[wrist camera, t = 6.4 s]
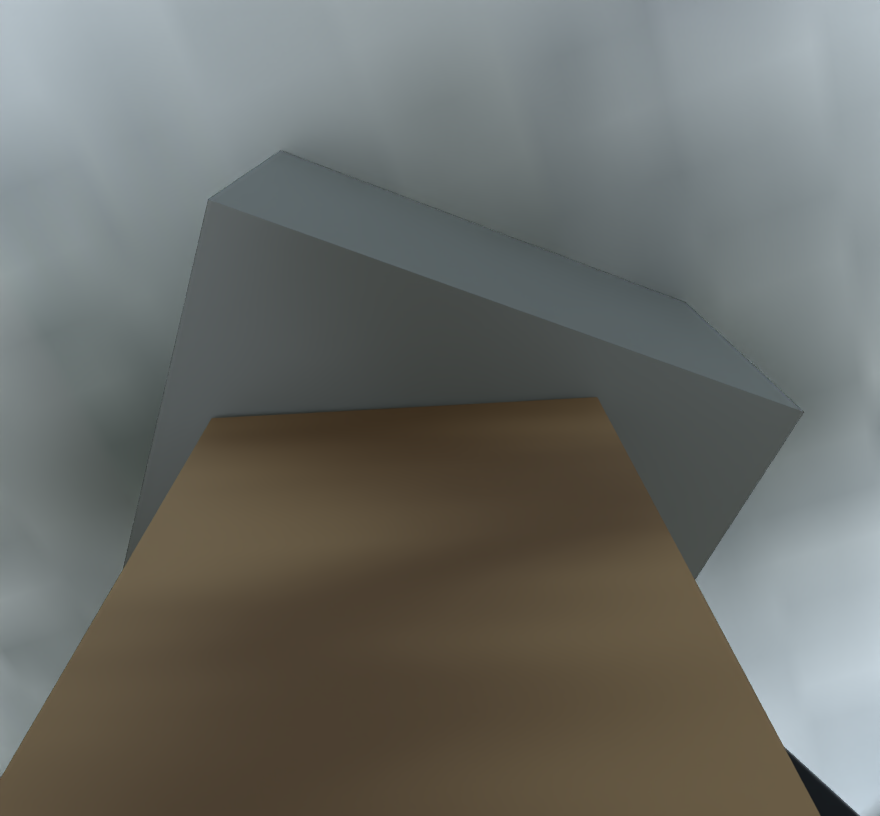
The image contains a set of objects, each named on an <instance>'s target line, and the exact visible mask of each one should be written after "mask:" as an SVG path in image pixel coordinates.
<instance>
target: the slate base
mask: <svg viewBox="0 0 880 816" xmlns="http://www.w3.org/2000/svg"><path fill="white" fill-rule="evenodd" d="M590 397H597V398H598V399H599V401H600V403H601V405H602V407H603V409H604V411H605V413H606V414H607V416H608V418H609V420H610V422H611V424H612V426H613V428H614V429H615V431H616V433H617V435H618V437H619V439H620V441H621V443H622V444H623V446H624V448H625V450H626V452H627V454H628V456H629V458H630V459H631V461H632V463H633V465H634V467H635V469H636V471H637V473H638V474H639V476H640V478H641V480H642V482H643V484H644V486H645V488H646V489H647V491H648V493H649V495H650V497H651V499H652V501H653V503H654V504H655V506H656V508H657V510H658V512H659V514H660V516H661V518H662V519H663V521H664V523H665V525H666V527H667V529H668V531H669V533H670V534H671V536H672V538H673V540H674V542H675V544H676V546H677V548H678V549H679V551H680V553H681V555H682V557H683V559H684V561H685V563H686V564H687V566H688V568H689V570H690V572H691V574H692V576H693V578H694V579H696V577H697V576H698V574H699V573H700V571H701V570H702V568H703V567H704V565H705V564H706V562H707V560H708V559H709V557H710V556H711V554H712V553H713V551H714V550H715V548H716V547H717V545H718V544H719V542H720V540H721V539H722V537H723V536H724V534H725V533H726V531H727V530H728V528H729V527H730V525H731V524H732V522H733V520H734V519H735V517H736V516H737V514H738V513H739V511H740V510H741V508H742V507H743V505H744V504H745V502H746V500H747V499H748V497H749V496H750V494H751V493H752V491H753V490H754V488H755V487H756V485H757V484H758V482H759V481H760V479H761V477H762V476H763V474H764V473H765V471H766V470H767V468H768V467H769V465H770V464H771V462H772V461H773V459H774V457H775V456H776V454H777V453H778V451H779V450H780V448H781V447H782V445H783V444H784V442H785V441H786V439H787V437H788V436H789V434H790V433H791V431H792V430H793V428H794V427H795V425H796V424H797V422H798V421H799V419H800V417H801V416H802V414H803V413H804V412H803V411H802V410H801V409H800V408H799V407H798V406H797V405H796V404H795V403H794V402H793V401H792V400H791V399H789V398H788V397H787V396H786V395H785V394H784V393H783V392H782V391H781V390H780V389H779V388H778V387H776V386H775V385H774V384H773V383H772V382H771V381H770V380H769V379H768V378H767V377H766V376H765V375H763V374H762V373H761V372H760V371H759V370H758V369H757V368H756V367H755V366H754V365H753V364H752V363H750V362H749V361H748V360H747V359H746V358H745V357H744V356H743V355H742V354H741V353H740V352H739V351H737V350H736V349H735V348H734V347H733V346H732V345H731V344H730V343H729V342H728V341H727V340H726V339H725V338H723V337H722V336H721V335H720V334H719V333H718V332H717V331H716V330H715V329H714V328H713V327H712V326H710V325H709V324H708V323H707V322H706V321H705V320H704V319H703V318H702V317H701V316H700V315H699V314H697V313H696V312H695V311H694V310H693V309H692V308H691V307H690V306H689V305H688V304H687V303H686V302H683V301H680V300H678V299H675V298H672V297H670V296H667V295H664V294H662V293H659V292H656V291H654V290H651V289H648V288H646V287H643V286H640V285H638V284H635V283H632V282H630V281H627V280H624V279H622V278H619V277H616V276H614V275H611V274H608V273H606V272H603V271H600V270H598V269H595V268H593V267H590V266H587V265H585V264H582V263H579V262H577V261H574V260H571V259H569V258H566V257H563V256H561V255H558V254H555V253H553V252H550V251H547V250H545V249H542V248H539V247H537V246H534V245H531V244H529V243H526V242H523V241H521V240H518V239H515V238H513V237H510V236H507V235H505V234H502V233H499V232H497V231H494V230H491V229H489V228H486V227H483V226H481V225H478V224H475V223H473V222H470V221H467V220H465V219H462V218H459V217H457V216H454V215H451V214H449V213H446V212H443V211H441V210H438V209H436V208H433V207H430V206H428V205H425V204H422V203H420V202H417V201H414V200H412V199H409V198H406V197H404V196H401V195H398V194H396V193H393V192H390V191H388V190H385V189H382V188H380V187H377V186H374V185H372V184H369V183H366V182H364V181H361V180H358V179H356V178H353V177H350V176H348V175H345V174H342V173H340V172H337V171H334V170H332V169H329V168H326V167H324V166H321V165H318V164H316V163H313V162H310V161H308V160H305V159H302V158H300V157H297V156H294V155H292V154H289V153H287V152H284V151H281V150H280V151H279V152H278V153H276V154H275V155H273V156H272V157H270V158H269V159H267V160H266V161H264V162H263V163H261V164H260V165H258V166H257V167H255V168H254V169H252V170H251V171H249V172H248V173H246V174H245V175H243V176H242V177H241V178H239V179H238V180H236V181H235V182H233V183H232V184H230V185H229V186H227V187H226V188H224V189H223V190H221V191H220V192H218V193H217V194H215V195H214V196H212V197H211V198H209V199H208V202H207V207H206V211H205V215H204V220H203V224H202V228H201V233H200V237H199V241H198V246H197V250H196V254H195V259H194V263H193V267H192V272H191V276H190V281H189V285H188V289H187V294H186V298H185V302H184V307H183V311H182V315H181V320H180V324H179V328H178V333H177V337H176V341H175V346H174V350H173V354H172V359H171V363H170V367H169V372H168V376H167V380H166V385H165V389H164V393H163V398H162V402H161V406H160V411H159V415H158V419H157V424H156V428H155V432H154V437H153V441H152V445H151V450H150V454H149V458H148V463H147V467H146V471H145V476H144V480H143V484H142V489H141V493H140V497H139V502H138V506H137V510H136V515H135V519H134V523H133V528H132V532H131V536H130V541H129V545H128V549H127V554H126V558H125V562H124V567H125V565H126V563H127V562H128V560H129V558H130V557H131V555H132V553H133V551H134V550H135V548H136V546H137V545H138V543H139V541H140V540H141V538H142V536H143V534H144V533H145V531H146V529H147V528H148V526H149V524H150V523H151V521H152V519H153V517H154V516H155V514H156V512H157V511H158V509H159V507H160V505H161V504H162V502H163V500H164V499H165V497H166V495H167V494H168V492H169V490H170V488H171V487H172V485H173V483H174V482H175V480H176V478H177V476H178V475H179V473H180V471H181V470H182V468H183V466H184V465H185V463H186V461H187V459H188V458H189V456H190V454H191V453H192V451H193V449H194V447H195V446H196V444H197V442H198V441H199V439H200V437H201V436H202V434H203V432H204V430H205V429H206V427H207V425H208V424H209V422H210V420H211V418H225V417H243V416H262V415H280V414H298V413H316V412H335V411H353V410H371V409H389V408H408V407H426V406H444V405H462V404H481V403H499V402H517V401H535V400H554V399H572V398H590ZM124 567H123V569H124Z"/></svg>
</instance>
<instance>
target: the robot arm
mask: <svg viewBox="0 0 880 816" xmlns="http://www.w3.org/2000/svg"><path fill="white" fill-rule="evenodd" d="M784 748H785V747H784ZM785 750H786V752H787V754H788V756H789V757H790V759H791V761H792V763H793V765H794V767H795V769H796V771H797V772H798V774H799V776H800V778H801V780H802V782H803V784H804V786H805V787H806V789H807V791H808V793H809V795H810V797H811V799H812V801H813V802H814V804H815V806H816V808H817V810H818V812H819V814H820V816H860V815H859V814H857V813H856V812H855V811H854V810H853V809H852V808H851V807H850V806H849V805H848V804H846V803H845V802H844V801H843V800H842V799H841V798H840V797H839V796H838V795H837V794H835V793H834V792H833V791H832V790H831V789H830V788H829V787H828V786H827V785H826V784H824V783H823V782H822V781H821V780H820V779H819V778H818V777H817V776H816V775H815V774H813V773H812V772H811V771H810V770H809V769H808V768H807V767H806V766H805V765H804V764H803V763H801V762H800V761H799V760H798V759H797V758H796V757H795V756H794V755H793V754H792V753H790V752H789V751H788V750H787V749H786V748H785Z"/></svg>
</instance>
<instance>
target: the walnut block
mask: <svg viewBox="0 0 880 816" xmlns="http://www.w3.org/2000/svg"><path fill="white" fill-rule="evenodd" d="M0 816H820V814H819V812H818V810H817V808H816V806H815V804H814V802H813V801H812V799H811V797H810V795H809V793H808V791H807V789H806V787H805V786H804V784H803V782H802V780H801V778H800V776H799V774H798V772H797V771H796V769H795V767H794V765H793V763H792V761H791V759H790V757H789V756H788V754H787V752H786V750H785V748H784V746H783V744H782V742H781V741H780V739H779V737H778V735H777V733H776V731H775V729H774V727H773V726H772V724H771V722H770V720H769V718H768V716H767V714H766V712H765V711H764V709H763V707H762V705H761V703H760V701H759V699H758V697H757V696H756V694H755V692H754V690H753V688H752V686H751V684H750V682H749V681H748V679H747V677H746V675H745V673H744V671H743V669H742V667H741V666H740V664H739V662H738V660H737V658H736V656H735V654H734V653H733V651H732V649H731V647H730V645H729V643H728V641H727V639H726V638H725V636H724V634H723V632H722V630H721V628H720V626H719V624H718V623H717V621H716V619H715V617H714V615H713V613H712V611H711V609H710V608H709V606H708V604H707V602H706V600H705V598H704V596H703V594H702V593H701V591H700V589H699V587H698V585H697V583H696V581H695V579H694V578H693V576H692V574H691V572H690V570H689V568H688V566H687V564H686V563H685V561H684V559H683V557H682V555H681V553H680V551H679V549H678V548H677V546H676V544H675V542H674V540H673V538H672V536H671V534H670V533H669V531H668V529H667V527H666V525H665V523H664V521H663V519H662V518H661V516H660V514H659V512H658V510H657V508H656V506H655V504H654V503H653V501H652V499H651V497H650V495H649V493H648V491H647V489H646V488H645V486H644V484H643V482H642V480H641V478H640V476H639V474H638V473H637V471H636V469H635V467H634V465H633V463H632V461H631V459H630V458H629V456H628V454H627V452H626V450H625V448H624V446H623V444H622V443H621V441H620V439H619V437H618V435H617V433H616V431H615V429H614V428H613V426H612V424H611V422H610V420H609V418H608V416H607V414H606V413H605V411H604V409H603V407H602V405H601V403H600V401H599V399H598V398H597V397H590V398H572V399H554V400H535V401H517V402H499V403H481V404H462V405H444V406H426V407H408V408H389V409H371V410H353V411H335V412H316V413H298V414H280V415H262V416H243V417H225V418H211V420H210V422H209V424H208V425H207V427H206V429H205V430H204V432H203V434H202V436H201V437H200V439H199V441H198V442H197V444H196V446H195V447H194V449H193V451H192V453H191V454H190V456H189V458H188V459H187V461H186V463H185V465H184V466H183V468H182V470H181V471H180V473H179V475H178V476H177V478H176V480H175V482H174V483H173V485H172V487H171V488H170V490H169V492H168V494H167V495H166V497H165V499H164V500H163V502H162V504H161V505H160V507H159V509H158V511H157V512H156V514H155V516H154V517H153V519H152V521H151V523H150V524H149V526H148V528H147V529H146V531H145V533H144V534H143V536H142V538H141V540H140V541H139V543H138V545H137V546H136V548H135V550H134V551H133V553H132V555H131V557H130V558H129V560H128V562H127V563H126V565H125V567H124V569H123V570H122V572H121V574H120V575H119V577H118V579H117V580H116V582H115V584H114V586H113V587H112V589H111V591H110V592H109V594H108V596H107V598H106V599H105V601H104V603H103V604H102V606H101V608H100V609H99V611H98V613H97V615H96V616H95V618H94V620H93V621H92V623H91V625H90V627H89V628H88V630H87V632H86V633H85V635H84V637H83V638H82V640H81V642H80V644H79V645H78V647H77V649H76V650H75V652H74V654H73V656H72V657H71V659H70V661H69V662H68V664H67V666H66V667H65V669H64V671H63V673H62V674H61V676H60V678H59V679H58V681H57V683H56V685H55V686H54V688H53V690H52V691H51V693H50V695H49V696H48V698H47V700H46V702H45V703H44V705H43V707H42V708H41V710H40V712H39V714H38V715H37V717H36V719H35V720H34V722H33V724H32V725H31V727H30V729H29V731H28V732H27V734H26V736H25V737H24V739H23V741H22V743H21V744H20V746H19V748H18V749H17V751H16V753H15V754H14V756H13V758H12V760H11V761H10V763H9V765H8V766H7V768H6V770H5V772H4V773H3V775H2V777H1V778H0Z"/></svg>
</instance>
